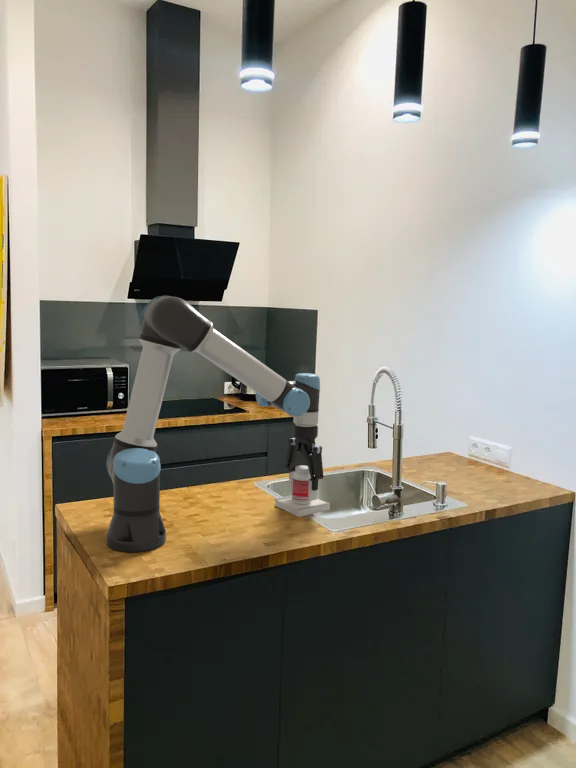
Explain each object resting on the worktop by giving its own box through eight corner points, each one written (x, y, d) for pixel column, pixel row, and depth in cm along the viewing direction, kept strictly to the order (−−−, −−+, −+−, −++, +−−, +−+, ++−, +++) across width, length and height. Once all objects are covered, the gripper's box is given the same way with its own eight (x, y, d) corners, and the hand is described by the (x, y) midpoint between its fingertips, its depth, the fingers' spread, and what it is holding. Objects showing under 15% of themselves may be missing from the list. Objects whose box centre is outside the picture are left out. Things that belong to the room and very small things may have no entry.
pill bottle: (313, 504, 194) (314, 469, 193) (293, 505, 193) (294, 469, 192) (309, 498, 200) (311, 464, 199) (290, 498, 199) (291, 464, 198)
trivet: (298, 517, 189) (298, 509, 189) (275, 505, 198) (275, 498, 198) (329, 510, 196) (329, 503, 196) (305, 499, 206) (305, 492, 205)
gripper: (338, 429, 187) (334, 503, 190) (294, 417, 204) (291, 485, 207) (318, 432, 183) (315, 507, 186) (275, 419, 200) (272, 488, 203)
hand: (302, 495), depth 197 cm, fingers open, 9 cm apart
